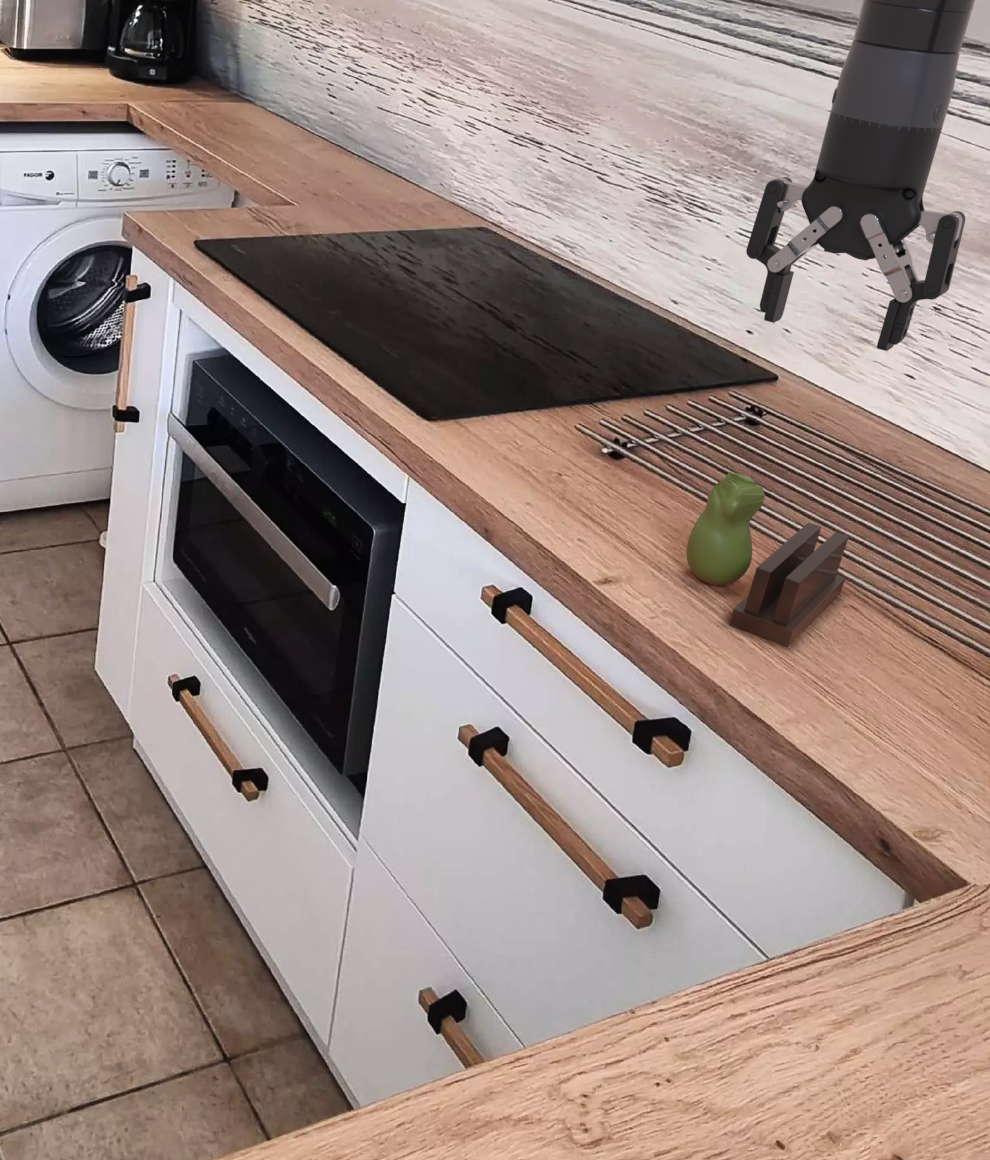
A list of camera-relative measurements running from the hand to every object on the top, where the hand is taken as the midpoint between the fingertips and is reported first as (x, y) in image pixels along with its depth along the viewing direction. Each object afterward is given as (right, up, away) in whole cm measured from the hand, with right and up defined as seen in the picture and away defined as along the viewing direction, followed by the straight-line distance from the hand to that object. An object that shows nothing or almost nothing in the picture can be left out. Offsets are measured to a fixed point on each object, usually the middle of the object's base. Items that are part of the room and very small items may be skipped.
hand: (827, 333), depth 115 cm
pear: (-3, -19, +19) cm, 27 cm away
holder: (+3, -21, +16) cm, 26 cm away
